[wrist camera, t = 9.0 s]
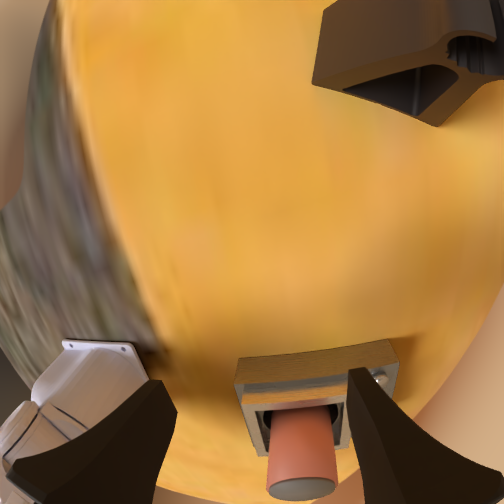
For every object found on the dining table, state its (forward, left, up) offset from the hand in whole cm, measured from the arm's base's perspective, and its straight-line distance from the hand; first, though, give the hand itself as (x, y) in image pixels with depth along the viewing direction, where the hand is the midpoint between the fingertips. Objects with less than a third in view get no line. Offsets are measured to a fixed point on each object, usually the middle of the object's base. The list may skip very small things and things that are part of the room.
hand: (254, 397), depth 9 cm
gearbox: (+3, -10, -10) cm, 15 cm away
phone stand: (+10, +14, -10) cm, 20 cm away
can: (+2, -10, -7) cm, 12 cm away
